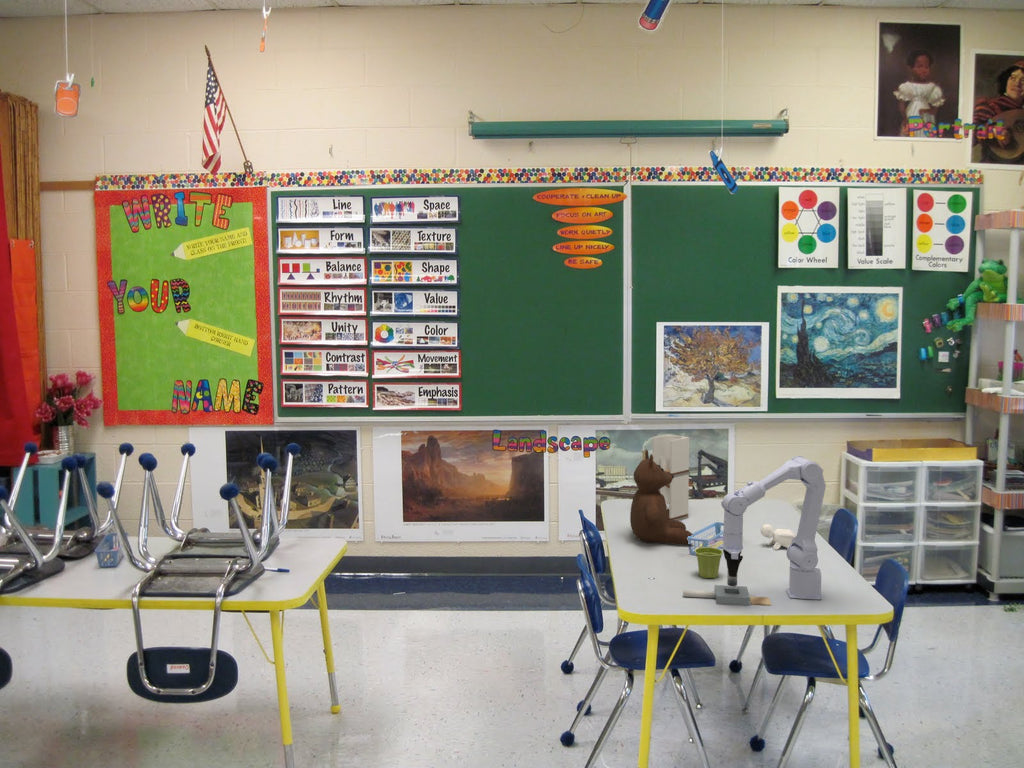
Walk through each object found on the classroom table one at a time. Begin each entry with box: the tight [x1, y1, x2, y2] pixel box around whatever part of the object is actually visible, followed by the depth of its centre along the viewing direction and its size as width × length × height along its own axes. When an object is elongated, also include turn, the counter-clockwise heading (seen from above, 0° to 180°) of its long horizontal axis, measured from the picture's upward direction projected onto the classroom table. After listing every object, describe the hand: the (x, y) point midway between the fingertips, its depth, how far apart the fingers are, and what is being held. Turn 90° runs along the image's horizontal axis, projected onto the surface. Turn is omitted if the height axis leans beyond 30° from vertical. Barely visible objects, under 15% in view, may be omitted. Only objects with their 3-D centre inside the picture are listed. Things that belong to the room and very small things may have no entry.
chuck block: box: [682, 584, 751, 607], centre depth 265 cm, size 20×10×2 cm, turn 80°
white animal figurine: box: [759, 523, 797, 551], centre depth 317 cm, size 9×8×15 cm
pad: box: [749, 595, 772, 607], centre depth 262 cm, size 6×6×1 cm
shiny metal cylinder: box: [726, 572, 738, 586], centre depth 263 cm, size 3×3×8 cm
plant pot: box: [694, 546, 724, 579], centre depth 285 cm, size 9×9×9 cm
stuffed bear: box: [629, 449, 694, 546], centre depth 325 cm, size 29×23×35 cm
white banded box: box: [651, 433, 690, 522], centre depth 356 cm, size 11×11×35 cm
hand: (732, 574), depth 263 cm, fingers closed on shiny metal cylinder, 3 cm apart
